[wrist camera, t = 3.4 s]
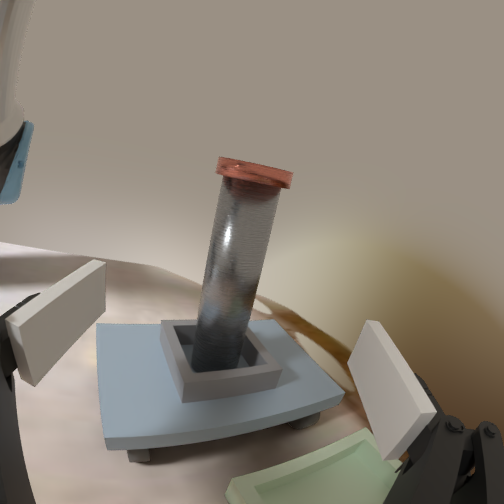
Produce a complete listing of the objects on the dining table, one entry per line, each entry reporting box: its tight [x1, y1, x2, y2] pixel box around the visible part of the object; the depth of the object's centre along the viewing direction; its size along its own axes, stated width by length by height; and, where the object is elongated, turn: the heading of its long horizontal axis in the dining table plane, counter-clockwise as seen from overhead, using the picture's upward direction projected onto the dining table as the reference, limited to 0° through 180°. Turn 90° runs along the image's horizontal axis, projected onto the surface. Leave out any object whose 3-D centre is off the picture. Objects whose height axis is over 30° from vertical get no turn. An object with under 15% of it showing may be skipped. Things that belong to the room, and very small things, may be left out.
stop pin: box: [191, 157, 293, 373], centre depth 19 cm, size 5×5×15 cm
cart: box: [96, 319, 345, 462], centre depth 23 cm, size 15×18×7 cm
